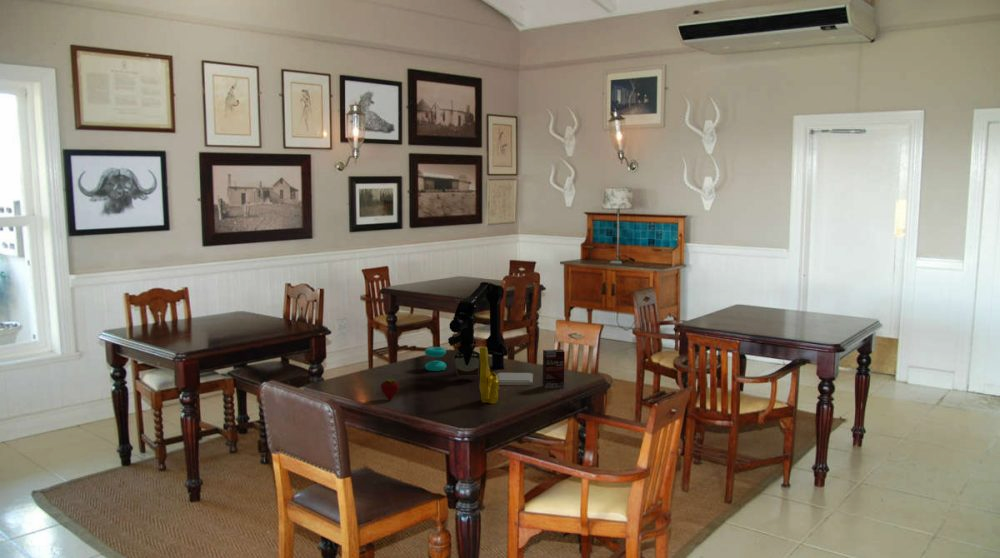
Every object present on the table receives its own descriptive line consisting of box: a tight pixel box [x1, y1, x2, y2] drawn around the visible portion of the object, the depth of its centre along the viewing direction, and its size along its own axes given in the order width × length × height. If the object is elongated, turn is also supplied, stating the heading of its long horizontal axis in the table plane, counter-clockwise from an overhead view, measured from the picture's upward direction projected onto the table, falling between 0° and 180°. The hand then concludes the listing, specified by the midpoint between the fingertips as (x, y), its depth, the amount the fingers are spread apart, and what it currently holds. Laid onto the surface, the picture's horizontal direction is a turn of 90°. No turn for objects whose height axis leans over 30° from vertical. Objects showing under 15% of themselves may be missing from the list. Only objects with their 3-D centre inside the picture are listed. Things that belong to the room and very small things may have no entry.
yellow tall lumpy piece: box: [479, 346, 501, 405], centre depth 313 cm, size 18×8×22 cm, turn 166°
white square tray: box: [496, 372, 534, 386], centre depth 349 cm, size 16×16×2 cm
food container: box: [452, 350, 480, 377], centre depth 351 cm, size 12×6×10 cm, turn 87°
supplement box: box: [542, 349, 566, 389], centre depth 337 cm, size 9×5×16 cm, turn 102°
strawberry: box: [380, 378, 400, 401], centre depth 317 cm, size 6×8×10 cm
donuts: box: [424, 346, 447, 372], centre depth 371 cm, size 10×10×10 cm
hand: (467, 363), depth 350 cm, fingers closed on food container, 6 cm apart
